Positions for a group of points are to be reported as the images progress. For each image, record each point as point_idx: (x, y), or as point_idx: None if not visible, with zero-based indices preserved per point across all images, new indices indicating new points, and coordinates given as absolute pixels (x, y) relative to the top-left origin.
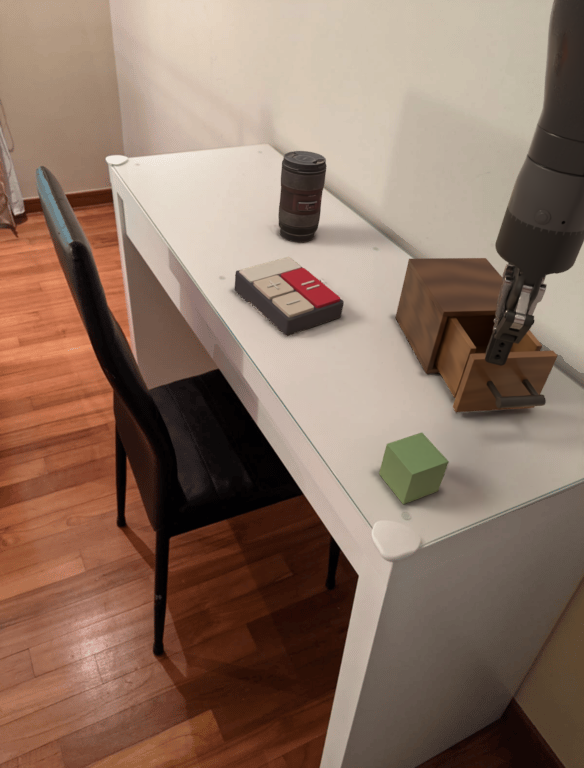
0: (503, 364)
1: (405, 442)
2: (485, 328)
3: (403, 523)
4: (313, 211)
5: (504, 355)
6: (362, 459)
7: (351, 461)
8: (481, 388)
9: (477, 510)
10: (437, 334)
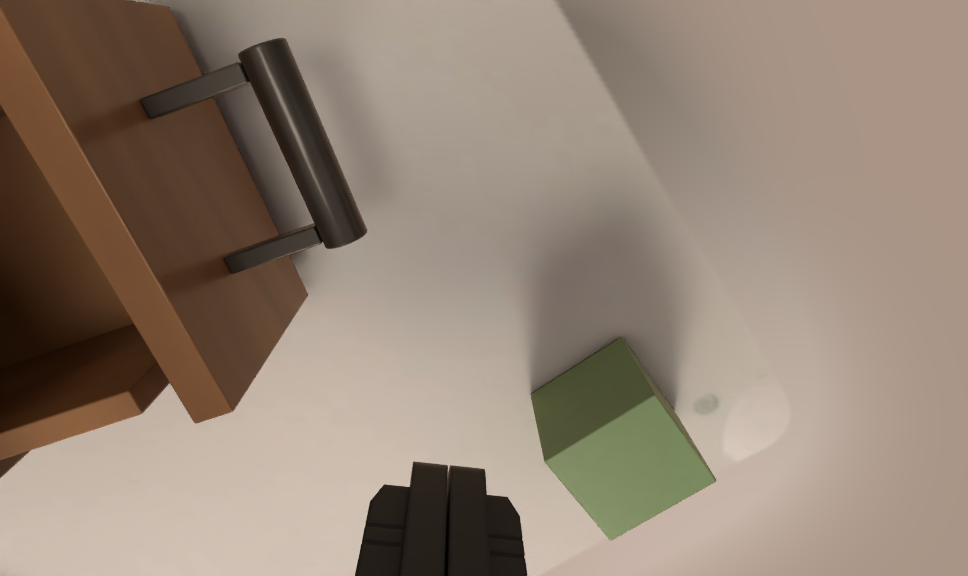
0: (481, 470)
1: (597, 500)
2: None
3: (728, 409)
4: None
5: (521, 549)
6: (546, 498)
7: (557, 518)
8: (250, 275)
9: (672, 242)
10: (18, 461)
